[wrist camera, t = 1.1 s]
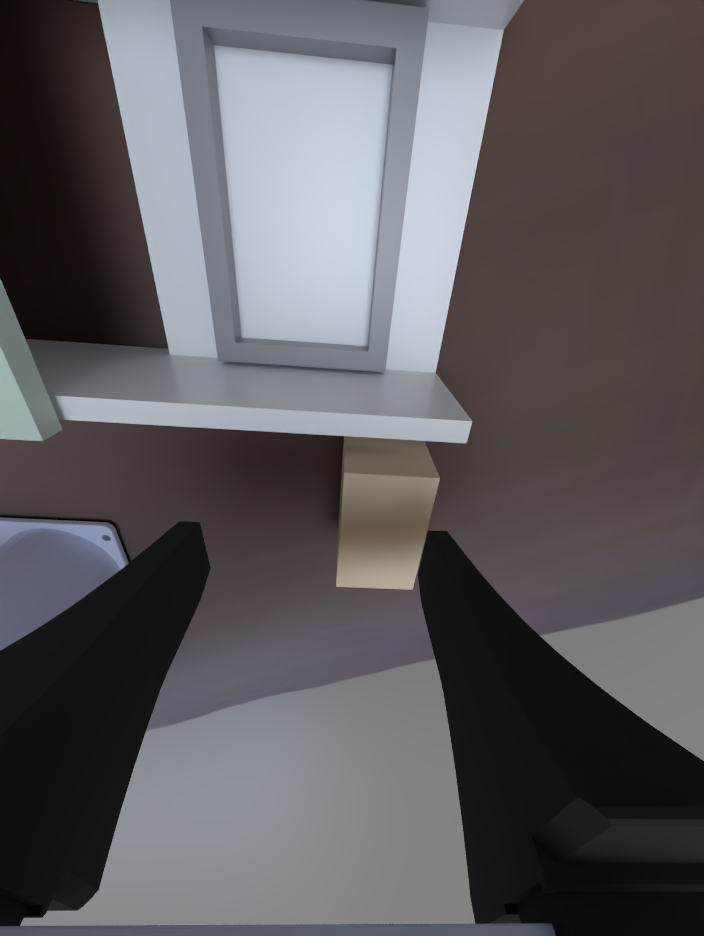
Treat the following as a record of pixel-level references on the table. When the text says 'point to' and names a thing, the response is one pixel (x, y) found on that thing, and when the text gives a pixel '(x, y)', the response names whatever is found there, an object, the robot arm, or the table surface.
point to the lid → (21, 384)
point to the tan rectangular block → (383, 511)
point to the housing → (293, 212)
